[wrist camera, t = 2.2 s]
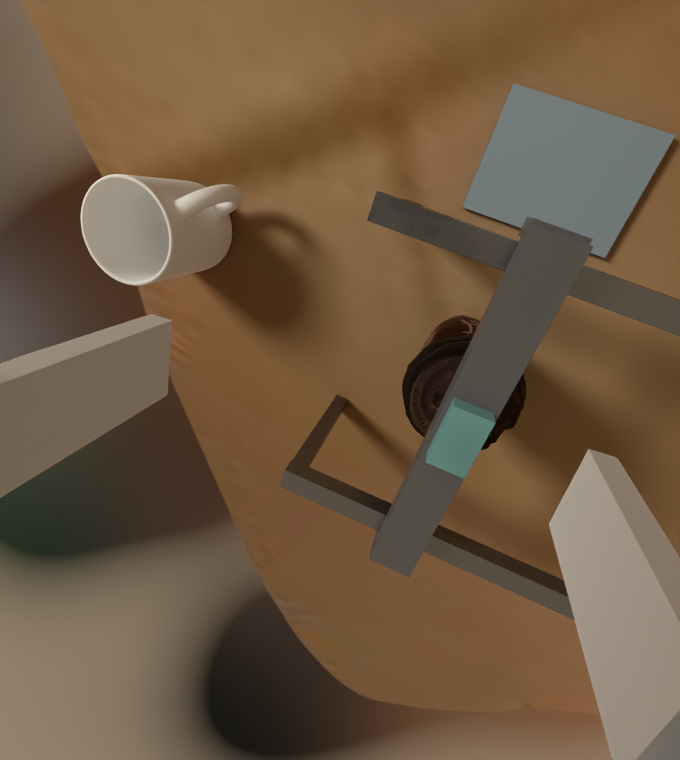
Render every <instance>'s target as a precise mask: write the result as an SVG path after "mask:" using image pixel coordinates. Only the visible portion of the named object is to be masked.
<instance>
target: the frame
mask: <svg viewBox="0 0 680 760" xmlns="http://www.w3.org/2000/svg"><path fill="white" fill-rule="evenodd" d="M367 221H370V222H373V223H376V224H378V225H381V226H384V227H386V228H389V229H392V230H394V231H397V232H400V233H403V234H405V235H408V236H411V237H413V238H416V239H419V240H421V241H424V242H427V243H430V244H432V245H435V246H438V247H440V248H443V249H446V250H448V251H451V252H454V253H457V254H459V255H462V256H465V257H467V258H470V259H473V260H476V261H478V262H481V263H484V264H486V265H489V266H492V267H494V268H497V269H500V270H503V271H505V270H506V268H507V266H508V263H509V261H510V259H511V257H512V255H513V253H514V251H515V249H516V247H517V245H518V243H519V242H518V241H516V240H513V239H510V238H507V237H505V236H502V235H499V234H496V233H494V232H491V231H488V230H485V229H482V228H480V227H477V226H474V225H471V224H469V223H466V222H463V221H460V220H458V219H455V218H452V217H449V216H446V215H444V214H441V213H438V212H435V211H433V210H430V209H427V208H424V207H422V206H420V204H418V203H415V202H412V201H409V200H406V199H399V198H397V197H394V196H391V195H388V194H386V193H383V192H379V191H377V192H376V195H375V198H374V201H373V204H372V207H371V210H370V213H369V216H368V219H367ZM567 295H570V296H573V297H575V298H578V299H581V300H584V301H586V302H589V303H592V304H594V305H597V306H600V307H602V308H605V309H608V310H611V311H613V312H616V313H619V314H621V315H624V316H627V317H629V318H632V319H635V320H638V321H640V322H643V323H646V324H648V325H651V326H654V327H656V328H659V329H662V330H665V331H667V332H670V333H673V334H675V335H678V336H680V300H679V299H676V298H673V297H671V296H668V295H665V294H662V293H660V292H657V291H654V290H651V289H649V288H646V287H643V286H640V285H638V284H635V283H632V282H629V281H626V280H624V279H621V278H618V277H615V276H613V275H610V274H607V273H604V272H602V271H599V270H596V269H593V268H590V267H588V266H585V265H583V267H582V269H581V270H580V272H579V274H578V276H577V278H576V279H575V281H574V283H573V285H572V286H571V288H570V290H569V292H568V294H567ZM346 402H347V399H345V398H343V397H341V396H338V395H336V397H335V398H334V400H333V401H332V403H331V404H330V406H329V407H328V409H327V410H326V412H325V413H324V415H323V416H322V418H321V419H320V420H319V422H318V423H317V425H316V426H315V428H314V429H313V431H312V432H311V434H310V435H309V437H308V438H307V440H306V441H305V442H304V444H303V445H302V447H301V448H300V450H299V451H298V453H297V454H296V456H295V457H294V459H293V460H292V461H291V462H290V463H289V465H288V466H287V468H286V469H285V472H284V475H283V478H282V481H281V484H280V487H282V488H284V489H287V490H289V491H291V492H293V493H296V494H298V495H300V496H302V497H304V498H307V499H309V500H311V501H313V502H315V503H318V504H320V505H322V506H324V507H326V508H329V509H331V510H333V511H335V512H337V513H340V514H342V515H344V516H346V517H348V518H351V519H353V520H355V521H357V522H360V523H362V524H364V525H366V526H368V527H371V528H373V529H375V530H377V531H379V530H380V528H381V526H382V524H383V522H384V520H385V518H386V516H387V514H388V512H389V509H390V507H391V505H392V504H391V503H389V502H386V501H384V500H382V499H380V498H377V497H375V496H373V495H371V494H368V493H366V492H364V491H362V490H359V489H357V488H355V487H353V486H350V485H348V484H346V483H344V482H341V481H339V480H337V479H335V478H332V477H330V476H328V475H326V474H323V473H321V472H319V471H317V470H314V469H312V468H310V467H309V466H310V464H311V463H312V461H313V459H314V458H315V456H316V454H317V453H318V451H319V449H320V448H321V446H322V444H323V443H324V441H325V439H326V438H327V436H328V434H329V433H330V431H331V429H332V428H333V426H334V424H335V423H336V421H337V419H338V418H339V416H340V414H341V413H342V411H343V409H344V407H345V404H346ZM424 552H426V553H428V554H430V555H432V556H435V557H437V558H439V559H441V560H443V561H446V562H448V563H450V564H452V565H454V566H457V567H459V568H461V569H463V570H465V571H468V572H470V573H472V574H474V575H477V576H479V577H481V578H483V579H485V580H488V581H490V582H492V583H494V584H496V585H499V586H501V587H503V588H505V589H507V590H510V591H512V592H514V593H516V594H518V595H521V596H523V597H525V598H527V599H529V600H532V601H534V602H536V603H538V604H541V605H543V606H545V607H547V608H549V609H552V610H554V611H556V612H558V613H560V614H563V615H565V616H567V617H569V618H571V619H574V616H573V612H572V608H571V605H570V601H569V597H568V593H567V590H566V586H565V582H564V580H562V579H560V578H557V577H555V576H553V575H551V574H548V573H546V572H544V571H542V570H539V569H537V568H535V567H533V566H530V565H528V564H526V563H524V562H521V561H519V560H517V559H515V558H512V557H510V556H508V555H506V554H503V553H501V552H499V551H497V550H494V549H492V548H490V547H488V546H485V545H483V544H481V543H479V542H476V541H474V540H472V539H470V538H467V537H465V536H463V535H461V534H458V533H456V532H454V531H452V530H449V529H447V528H445V527H443V526H440V525H438V526H437V528H436V530H435V531H434V533H433V535H432V537H431V539H430V540H429V542H428V544H427V546H426V548H425V549H424ZM574 620H575V619H574Z"/></svg>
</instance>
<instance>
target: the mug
mask: <svg viewBox="0 0 680 760" xmlns="http://www.w3.org/2000/svg"><path fill="white" fill-rule="evenodd" d="M242 199H243V194H242V192H241V190H240V189H239V188H238V187H236V186H234V185H229V184H220V185H214V186H210V187H206V186H204V185H201V184H199V183H195V182H191V181H184V180H174V179H164V178H154V177H143V176H133V175H123V174H113V175H108V176H105V177H103V178H101V179H99V180H98V181H96V182H95V183H94V184H93V185H92V186H91V187H90V189H89V190H88V192H87V193H86V195H85V198H84V200H83V204H82V209H81V227H82V233H83V237H84V240H85V243H86V245H87V248H88V250H89V252H90V254H91V255H92V257H93V259H94V260H95V261H96V263H97V264H98V265H99V266H100V268H101V269H103V271H104V272H106V273H107V274H108V275H110V276H111V277H112V278H114V279H116V280H117V281H120V282H122V283H125V284H129V285H136V286H137V285H145V284H150V283H154V282H158V281H162V280H166V279H171V278H175V277H179V276H183V275H187V274H192V273H196V272H200V271H204V270H207V269H209V268H212V267H214V266H215V265H217V264H218V263H219V262H221V261H222V260H223V258H224V257H225V256H226V254H227V252H228V250H229V248H230V245H231V240H232V223H231V219H230V215H229V214H230V213H231V212H232V211H234V210H235V209H236V208H237V207H238V206H239V205H240V204H241V202H242Z"/></svg>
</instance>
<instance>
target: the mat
mask: <svg viewBox="0 0 680 760" xmlns="http://www.w3.org/2000/svg"><path fill="white" fill-rule="evenodd" d="M675 136H676V135H674V134H670V133H667V132H664V131H661V130H658V129H655V128H652V127H649V126H645V125H642V124H639V123H636V122H633V121H630V120H627V119H624V118H620V117H617V116H614V115H611V114H608V113H605V112H602V111H599V110H596V109H592V108H589V107H586V106H583V105H580V104H577V103H574V102H571V101H567V100H564V99H561V98H558V97H555V96H552V95H549V94H546V93H542V92H539V91H536V90H533V89H530V88H527V87H524V86H521V85H517V84H513V86H512V89H511V91H510V93H509V96H508V98H507V101H506V103H505V105H504V108H503V110H502V113H501V115H500V117H499V120H498V122H497V125H496V127H495V130H494V132H493V134H492V137H491V139H490V142H489V144H488V146H487V149H486V151H485V154H484V156H483V158H482V161H481V163H480V166H479V168H478V171H477V173H476V175H475V178H474V180H473V183H472V185H471V187H470V190H469V192H468V195H467V197H466V199H465V202H464V204H463V208H466V209H469V210H472V211H475V212H477V213H480V214H483V215H486V216H489V217H491V218H494V219H497V220H500V221H503V222H505V223H508V224H511V225H514V226H517V227H519V228H522V226H523V224H524V222H525V220H526V217H530V218H535V219H538V220H541V221H544V222H546V223H549V224H552V225H555V226H558V227H561V228H563V229H566V230H569V231H572V232H575V233H578V234H580V235H583V236H586V237H589V238H592V239H593V240H592V242H591V243H590V245H592V246H594V247H593V249H592V251H591V252H590V253H592V254H595V255H598V256H600V257H603V258H605V257H606V255H607V254H608V252H609V250H610V248H611V247H612V245H613V243H614V242H615V240H616V238H617V236H618V235H619V233H620V231H621V229H622V228H623V226H624V224H625V222H626V221H627V219H628V217H629V215H630V214H631V212H632V210H633V209H634V207H635V205H636V203H637V202H638V200H639V198H640V196H641V195H642V193H643V191H644V189H645V188H646V186H647V184H648V183H649V181H650V179H651V177H652V176H653V174H654V172H655V170H656V169H657V167H658V165H659V163H660V162H661V160H662V158H663V157H664V155H665V153H666V151H667V150H668V148H669V146H670V144H671V143H672V141H673V139H674V137H675Z"/></svg>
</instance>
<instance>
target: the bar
mask: <svg viewBox="0 0 680 760" xmlns="http://www.w3.org/2000/svg"><path fill="white" fill-rule="evenodd" d="M518 235H519V236H521V239H520V241H519V243H518V245H517V247H516V249H515V251H514V253H513V255H512V257H511V259H510V261H509V263H508V266H507V268H506V270H505V272H504V274H503V276H502V278H501V280H500V282H499V284H498V286H497V288H496V290H495V292H494V294H493V297H492V299H491V301H490V303H489V305H488V307H487V309H486V311H485V313H484V315H483V317H482V319H481V321H480V323H479V325H478V328H477V330H476V332H475V334H474V336H473V338H472V340H471V342H470V344H469V346H468V348H467V350H466V352H465V354H464V356H463V359H462V361H461V363H460V365H459V367H458V369H457V371H456V373H455V375H454V377H453V379H452V381H451V383H450V385H449V387H448V390H447V392H446V394H445V396H444V398H443V400H442V402H441V404H440V406H439V408H438V410H437V412H436V414H435V416H434V418H433V421H432V423H431V425H430V427H429V429H428V431H427V433H426V435H425V437H424V439H423V441H422V443H421V445H420V447H419V450H418V452H417V454H416V456H415V458H414V460H413V462H412V464H411V466H410V468H409V470H408V472H407V474H406V476H405V478H404V481H403V483H402V485H401V487H400V489H399V491H398V493H397V495H396V497H395V499H394V501H393V503H392V505H391V507H390V509H389V512H388V514H387V516H386V518H385V520H384V522H383V524H382V526H381V528H380V530H379V531H377V530H376V534H375V537H374V541H373V545H372V548H371V552H370V558H369V559H370V560H372V561H375V562H377V563H379V564H381V565H383V566H385V567H388V568H390V569H392V570H394V571H396V572H398V573H401V574H403V575H405V576H407V577H409V576H410V574H411V573H412V571H413V569H414V567H415V565H416V564H417V562H418V560H419V558H420V556H421V555H422V553H423V551H424V549H425V548H426V546H427V544H428V542H429V540H430V539H431V537H432V535H433V533H434V531H435V530H436V528H437V526H438V524H439V523H440V521H441V519H442V517H443V515H444V514H445V512H446V510H447V508H448V506H449V505H450V503H451V501H452V499H453V497H454V496H455V494H456V492H457V490H458V489H459V487H460V485H461V483H462V481H463V480H464V478H465V477H466V475H467V473H468V471H469V469H470V468H471V466H472V464H473V462H474V461H475V459H476V457H477V455H478V453H479V452H480V450H481V448H482V446H483V444H484V443H485V441H486V439H487V437H488V436H489V434H490V432H491V430H492V428H493V427H494V425H495V422H496V421H497V419H498V417H499V415H500V413H501V412H502V410H503V408H504V406H505V404H506V403H507V401H508V399H509V397H510V396H511V394H512V392H513V390H514V388H515V387H516V385H517V383H518V381H519V379H520V378H521V376H522V374H523V372H524V371H525V369H526V367H527V365H528V363H529V362H530V360H531V358H532V356H533V354H534V353H535V351H536V349H537V347H538V345H539V344H540V342H541V340H542V338H543V337H544V335H545V333H546V331H547V329H548V328H549V326H550V324H551V322H552V320H553V319H554V317H555V315H556V313H557V311H558V310H559V308H560V306H561V304H562V303H563V301H564V299H565V297H566V295H567V294H568V292H569V290H570V288H571V286H572V285H573V283H574V281H575V279H576V278H577V276H578V274H579V272H580V270H581V269H582V267H583V265H584V263H585V261H586V260H587V258H588V256H589V254H590V252H591V251H592V249H593V247H594V246H592V245H590V243H591V242H592V240H593V239H592V238H589V237H586V236H583V235H580V234H578V233H575V232H572V231H569V230H566V229H563V228H561V227H558V226H555V225H552V224H549V223H546V222H544V221H541V220H538V219H535V218H530V217H526V220H525V222H524V224H523V226H522V228H521V230H520V232H519V234H518Z"/></svg>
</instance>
